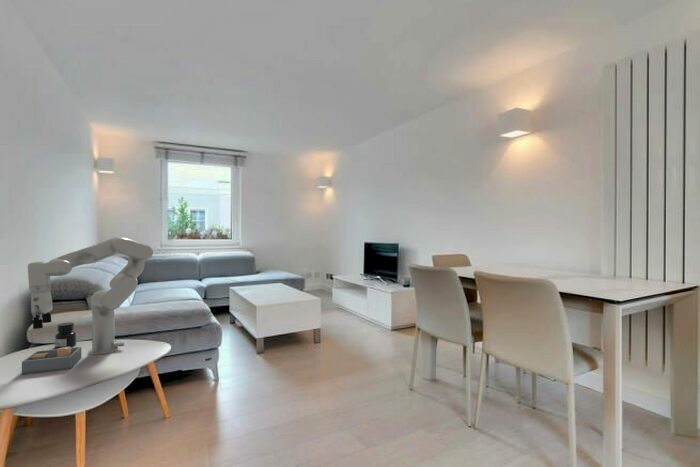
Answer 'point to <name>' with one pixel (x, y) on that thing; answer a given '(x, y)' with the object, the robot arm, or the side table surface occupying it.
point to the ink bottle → (65, 335)
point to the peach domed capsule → (63, 351)
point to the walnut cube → (40, 356)
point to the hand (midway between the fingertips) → (42, 325)
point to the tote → (51, 361)
